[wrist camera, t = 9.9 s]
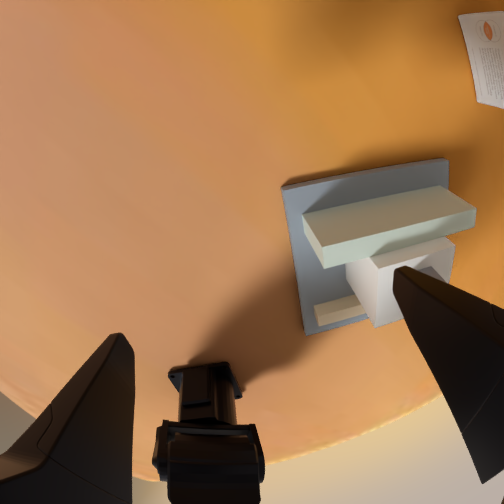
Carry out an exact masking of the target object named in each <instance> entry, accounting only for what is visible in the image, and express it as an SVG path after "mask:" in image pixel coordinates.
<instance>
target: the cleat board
mask: <svg viewBox="0 0 504 504" xmlns="http://www.w3.org/2000/svg"><path fill="white" fill-rule="evenodd" d="M448 185H449V160H447V159H445V158H439V159H432V160H425V161H418V162H411V163H405V164H399V165H393V166H387V167H381V168H375V169H369V170H363V171H358V172H352V173H347V174H342V175H337V176H331V177H326V178H321V179H316V180H311V181H307V182H302V183H297V184H292V185H288V186H283V187H281V191H282V197H283V202H284V208H285V213H286V219H287V225H288V230H289V236H290V242H291V248H292V254H293V260H294V267H295V273H296V279H297V286H298V292H299V299H300V306H301V313H302V319H303V327H304V332H305V335H306V336H308V335H312V334H316V333H320V332H323V331H327V330H331V329H334V328H338V327H341V326H345V325H348V324H351V323H355V322H358V321H361V320H365V319H368V318H369V317H368V315H367V314H366V312H365V310H364V308H363V307H362V305H361V303H360V302H359V300H358V298H357V296H356V295H355V293H354V291H353V290H352V288H351V286H350V285H349V283H348V281H347V280H346V268H345V263H349V262H353V261H356V260H360V259H364V258H368V257H372V256H375V255H379V254H383V253H386V252H390V251H394V250H397V249H401V248H405V247H408V246H412V245H415V244H419V243H422V242H426V241H429V240H433V239H436V238H440V237H443V236H447V235H450V234H453V233H457V232H460V231H463V230H467V229H470V228H473V227H474V226H475V218H476V211H477V208H475V207H474V206H472V205H471V204H469V203H468V202H466V201H465V200H463V199H462V198H460V197H458V196H457V195H455V194H454V193H452V192H450V191H449V190H448Z"/></svg>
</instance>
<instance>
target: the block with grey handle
mask: <svg viewBox="0 0 504 504" xmlns="http://www.w3.org/2000/svg"><path fill="white" fill-rule="evenodd" d="M455 246H456V245H454V244H453V243H452V242H451V241H450V240H449V239H447V238H446V237H445V236H443V237H440V238H436V239H433V240H429V241H426V242H422V243H419V244H415V245H412V246H408V247H405V248H401V249H397V250H394V251H390V252H386V253H383V254H379V255H375V256H372V257H368V258H364V259H360V260H356V261H353V262H349V263H345V268H346V280H347V281H348V283H349V285H350V286H351V288H352V290H353V291H354V293H355V295H356V296H357V298H358V300H359V302H360V303H361V305H362V307H363V308H364V310H365V312H366V314H367V315H368V317H369V319H370V321H371V322H372V324H373V326H374V328H377V327H380V326H383V325H386V324H389V323H392V322H395V321H398V320H401V319H404V317H403V315H402V313H401V310H400V308H399V306H398V304H397V301H396V299H395V297H394V295H393V290H392V287H393V274H394V270H395V269H396V268H398V267H401V266H409V267H411V268H413V269H416V270H418V271H420V272H423V273H425V274H427V275H430V276H432V277H434V278H436V279H439V280H441V281H443V282H445V283H448V284H449V280H450V275H451V270H452V265H453V259H454V253H455Z"/></svg>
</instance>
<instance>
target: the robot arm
mask: <svg viewBox="0 0 504 504" xmlns="http://www.w3.org/2000/svg"><path fill="white" fill-rule="evenodd" d="M392 290H393V295H394V297H395V299H396V301H397V304H398V306H399V308H400V310H401V313H402V315H403V317H404V319H405V322H406V324H407V326H408V329H409V331H410V333H411V335H412V337H413V338H414V340H415V342H416V344H417V346H418V347H419V349H420V351H421V353H422V355H423V357H424V358H425V360H426V362H427V364H428V366H429V368H430V370H431V372H432V373H433V375H434V377H435V379H436V381H437V383H438V385H439V387H440V389H441V391H442V393H443V395H444V397H445V399H446V401H447V403H448V406H449V407H450V409H451V412H452V414H453V416H454V418H455V420H456V423H457V425H458V427H459V429H460V432H461V433H462V436H463V439H464V441H465V443H466V446H467V448H468V450H469V453H470V455H471V458H472V460H473V463H474V465H475V468H476V470H477V473H478V476H479V478H480V481H481V483H482V484H484V483H485V482H487V481H488V480H490V479H491V478H493V477H494V476H496V475H497V474H498V473H500V472H501V471H502V470H504V309H502V308H500V307H498V306H496V305H494V304H490V303H489V302H487V301H485V300H483V299H481V298H479V297H476V296H474V295H472V294H470V293H468V292H465V291H463V290H461V289H459V288H457V287H454V286H452V285H450V284H448V283H445V282H443V281H441V280H439V279H436V278H434V277H432V276H430V275H427V274H425V273H423V272H420V271H418V270H416V269H413V268H411V267H409V266H401V267H398V268H396V269H395V270H394V274H393V287H392ZM168 378H169V379H170V381H171V382H172V383H173V385H174V386H175V388H176V389H177V391H178V392H179V411H178V422H173V421H169V420H163V424H162V426H160V427H157V431H156V442H155V448H154V452H153V457H152V465H153V466H154V467H155V468H156V469H157V470H158V474H159V476H160V481H166V482H167V489H168V499H169V501H170V502H171V504H259V503H260V501H261V498H260V486H259V483H262V482H263V480H264V475H265V461H264V455H263V451H262V447H261V444H260V440H259V436H258V433H257V429H256V426H255V424H249V425H237V419H236V408H235V399H240V398H242V397H243V396H242V391H241V389H240V387H239V385H238V383H237V380H236V378H235V376H234V374H233V371H232V369H231V367H230V364H229V363H227V362H221V363H216V364H210V365H205V366H199V367H193V368H187V369H180V370H174V371H169V372H168ZM134 405H135V355H134V351H133V348H132V347H131V345H130V344H129V342H128V341H127V339H126V337H125V336H124V335H123V334H122V333H114V334H110V335H109V336H108V337H107V338H106V340H105V341H104V342H103V343H102V344H101V345H100V346H99V347H98V348H97V350H96V351H95V352H94V353H93V354H92V355H91V356H90V357H89V359H88V360H87V361H86V362H85V363H84V364H83V365H82V367H81V368H80V369H79V370H78V371H77V372H76V373H75V375H74V376H73V377H72V378H71V379H70V380H69V382H68V383H67V384H66V385H65V386H64V387H63V389H62V390H61V391H60V392H59V393H58V394H57V396H56V397H55V398H54V399H53V400H52V402H51V404H49V405H48V406H47V408H46V409H45V410H44V411H43V412H42V414H41V415H40V416H39V417H38V418H37V419H36V420H35V422H34V423H33V424H32V425H31V426H30V427H29V428H28V429H27V430H26V431H25V433H23V434H22V435H21V437H20V438H19V439H18V440H17V441H16V442H15V443H14V444H13V445H12V446H11V447H10V448H9V449H8V450H7V451H6V452H4V453H3V454H1V455H0V504H132V444H133V422H134ZM501 504H504V498H503V500H502V503H501Z"/></svg>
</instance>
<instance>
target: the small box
mask: <svg viewBox="0 0 504 504" xmlns="http://www.w3.org/2000/svg"><path fill="white" fill-rule="evenodd" d="M458 19H459V22H460V25H461V28H462V32H463V35H464V39H465V43H466V47H467V51H468V55H469V59H470V64H471V69H472V74H473V79H474V85H475V91H476V97H477V102H478V103H482V104H486V105H491V106H495V107H499V108H502V109H504V11H494V12H480V13H470V14H463V15H459V16H458Z"/></svg>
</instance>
